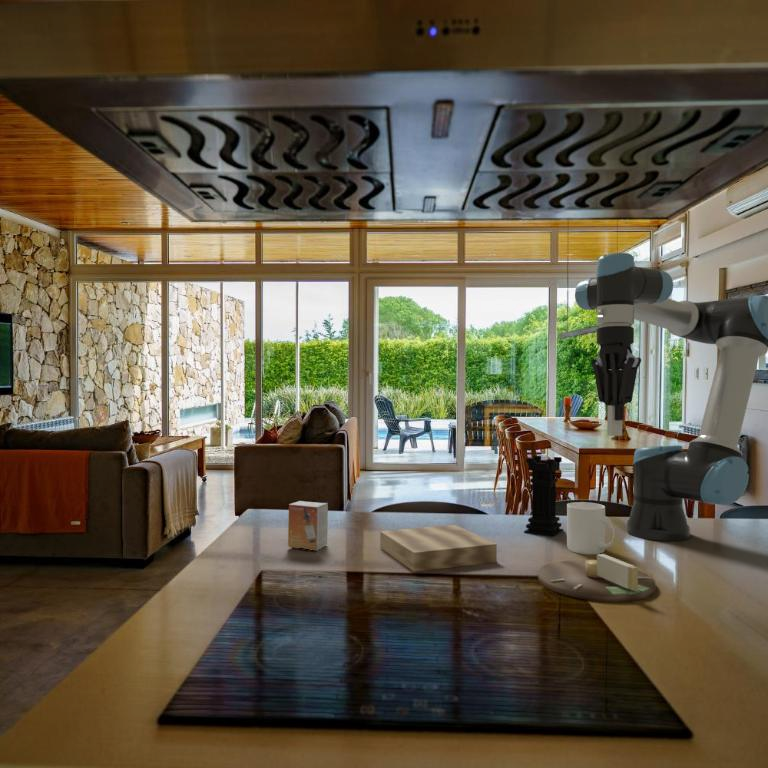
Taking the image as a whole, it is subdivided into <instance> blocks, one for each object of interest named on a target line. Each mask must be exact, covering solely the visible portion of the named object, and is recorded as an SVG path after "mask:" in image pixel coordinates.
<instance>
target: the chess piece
mask: <svg viewBox="0 0 768 768" xmlns="http://www.w3.org/2000/svg"><path fill="white" fill-rule="evenodd" d="M562 459H563V458H562V456H554V457H553V458H547V459H546V460H542V455H533V457H526V460H525V461H526V464H527V465H528V466H527V467H528V469H527V471H531V472H532V473H531V475H532V476H531V478H530V483H531V488H532V489H531V491H532V492H531V510H532V511H531V516H530V517H529V518H527V521H528V523H527V524H526V525H525V528H526V530H524V531H523V533H524V534H529V535H530V534H531V535H538V536H543V537H544V536H545V537H552V538H555V537H556V536H558V535H559V534H560V533H562V532H563V531H564V528H561V527H562V522H559V521H560V519H561V518H560V517H559V516H556V515H557V514H556V508H557V507H556V506H557V503H556V502H557V499H556V498H557V497H556V495H557V494H556V492H557V491H556V489H557V483H558V482H559V481H558V480H559V478H557V476H556V475H557V473H556V471H559V470H560V469H561V468H560V466H561V465H560V463H562Z"/></svg>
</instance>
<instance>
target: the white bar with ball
mask: <svg viewBox="0 0 768 768" xmlns="http://www.w3.org/2000/svg"><path fill="white" fill-rule="evenodd" d="M585 561H586V575H587V576H589V577H594V578H605V579H607V580H609V581H611V582H614V583H616V584H618V585H620V586H623V587H625V588H627V589H631V590H638V571H639V569H638V567H637V566H636V565H633V564H631V563H629V562H625V561H623V560H621V559H618V558H615V557H613V556H611V555H610V556H609V555H607V554H605V553H601V554H596V559H587V560H585Z"/></svg>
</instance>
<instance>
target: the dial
mask: <svg viewBox="0 0 768 768" xmlns="http://www.w3.org/2000/svg"><path fill="white" fill-rule="evenodd" d="M586 561H587V560H563V561H561V560H560V561H556V562H551V563H548V564H545V565H542V566H540V568H539V569H538V571H537V580H538V581H539V583H540V585H542V586H543V587H544V588H547V589H548V590H550V591H553V592H555V593H558V594H561V595H564V596H567V597H572V598H574V599H575V598H576V599H579V600H580V599H581V600H586V601H593V602H594V601H595V602H602V603H604V602H605V603H625V602H626V603H627V602H628V603H629V602H637V601H641V600H645V599H648V598H650V597H652V596H653V595H655V593H656V581H655V579H654V578H652V577H651V576H650V575H649V574H647V573H645V572H642V571H641V570H638V590H631V589H627V588H625V587H623V586H620V585H618V584H616V583H614V582H611V581H609V580H607V579H605V578H594V577H589V576H587V575H586ZM654 592H655V593H654ZM651 595H652V596H651Z"/></svg>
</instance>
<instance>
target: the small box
mask: <svg viewBox="0 0 768 768" xmlns="http://www.w3.org/2000/svg"><path fill="white" fill-rule="evenodd" d="M328 510H329V504H328V502H316V501H315V502H313V501H304V500H298V501H296V502H292V503H289V504H288V529H287V530H288V531H287V533H288V534H287V536H288V537H287V547H288V546H289V547H288V548H290V547H294V548H293V549H299V548H305V549H312V550H318V551H320V550H322V549H323V548H322V547H324V546H326V545H327V546H328V526H329V524H328V522H329V521H328V518H329V517H328V516H329V515H328V514H329V511H328ZM327 546H326V547H327ZM321 548H322V549H321ZM324 548H325V547H324ZM305 549H304V550H305ZM319 549H320V550H319Z"/></svg>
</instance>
